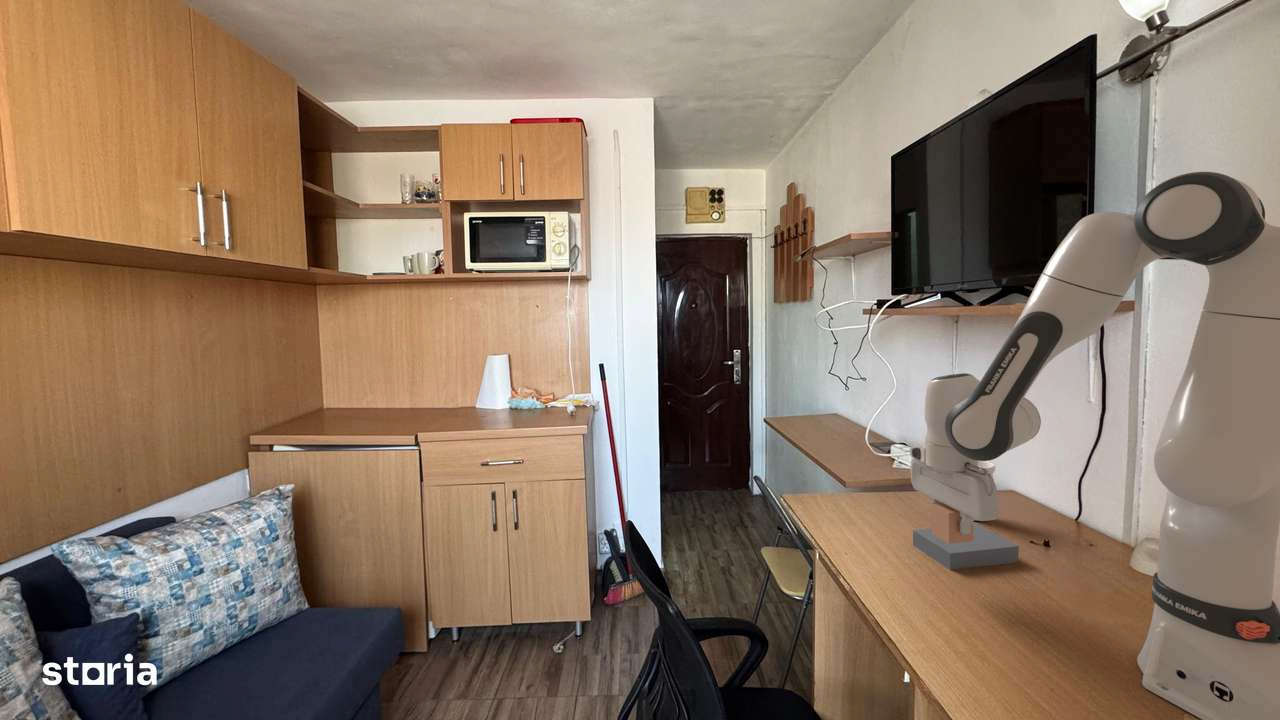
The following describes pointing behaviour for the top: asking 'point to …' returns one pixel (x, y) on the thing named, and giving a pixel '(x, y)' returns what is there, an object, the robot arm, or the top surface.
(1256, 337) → the robot arm
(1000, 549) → the grey flat slab
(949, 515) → the block
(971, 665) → the top surface
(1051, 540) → the top surface
